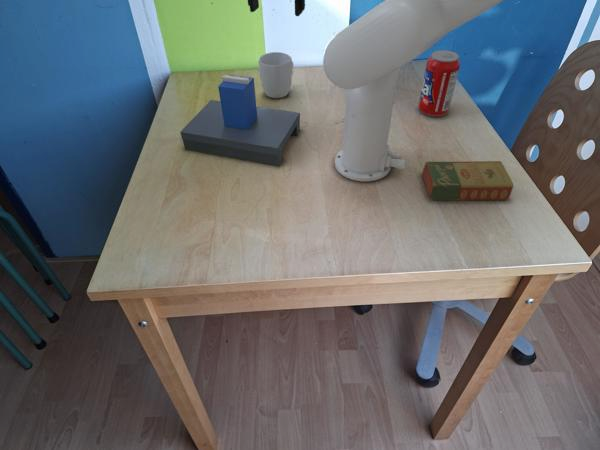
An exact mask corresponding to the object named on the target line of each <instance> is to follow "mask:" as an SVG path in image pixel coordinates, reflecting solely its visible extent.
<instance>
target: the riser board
mask: <svg viewBox="0 0 600 450" xmlns="http://www.w3.org/2000/svg"><path fill="white" fill-rule="evenodd" d="M256 107H257V119H256V120H255V121H254V123H253V124H252V125H251V127H250V128H249V129H248V130H244V129H238V128H231V127H225V126H224V120H223V114H222V108H221V101H220V100H214V99H210V100H209V101H208V103H206V104H205V106H203V107H202V108H201V110H200V111H199V112H198V113H197V114H196V115H195V116H193V118H192V119H191V120H190V121H189V122H188V123H187V124H186V125H185V126H184V127H183V128H182V129H181V130H180V132H179V134H180V137H181V140H182V143H183V147H184V150H186V151H192V152H196V153H197V152H198V153H201V154H202V153H203V154H209V155H214V156H220V157H224V158H230V159H236V160H242V161H248V162H252V163H253V162H254V163H259V164H264V165H268V166H269V165H270V166H275V167H280V165H281V164H282V163H283V149H284V147H285V145H286V144H287V142H288V140H289V139H290V137H291V136H295V137H298V135H299V134H300V131H301V113H300V112H297V111H289V110H284V109H283V110H282V109H276V108H269V107H263V106H256Z"/></svg>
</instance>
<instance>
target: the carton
mask: <svg viewBox="0 0 600 450" xmlns="http://www.w3.org/2000/svg"><path fill="white" fill-rule="evenodd" d="M421 176H422V179H423V182H424V186H425V188H426V192H427V195H428V198H429V200H430V201H488V200H489V201H492V200H493V201H508V200H509V199H510V197H511V195H512V192H513V188H514V186H515V185H514V183H513V180H512V178H511V177H510V175H509V173H508V171H507V169H506V168H505V165H504V164H503V161H499V160H496V161H495V160H494V161H493V160H492V161H491V160H489V161H487V160H485V161H478V160H477V161H426V162H425V164H424V166H423V170H422V174H421Z"/></svg>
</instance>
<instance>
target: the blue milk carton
mask: <svg viewBox="0 0 600 450" xmlns="http://www.w3.org/2000/svg"><path fill="white" fill-rule="evenodd" d="M221 79H222V82H221V83H220V84H219V85H218V86H217V88H218V95H219V101H221V108H222V114H223V120H224V126H225V127H231V128H238V129H244V130H248V129H249V128H250V127H251V125H252V124H253V123H254V121H255V120H256V119H257V107H258V106H257V97H256V85H255V78H254V77H250V76H244V75H243V76H242V75H235V74H228V75H227V74H224V75H223V76H221Z"/></svg>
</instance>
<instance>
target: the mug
mask: <svg viewBox="0 0 600 450" xmlns="http://www.w3.org/2000/svg"><path fill="white" fill-rule="evenodd" d="M294 70H295V66H294V61H293V59H292V56H291V55H289V54H287V53H285V52H279V51H272V52H268V53H264V54H262V55H260V56H259V57H258V73H259V79H260V83H261V88H262V90H263V93H264V94H265V95H266V96H267V97H269V98H271V99H282V98H284V97H286V96H287V95H289V93H290V91H291V88H292V87H291V86H292V80H293V74H294Z"/></svg>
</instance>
